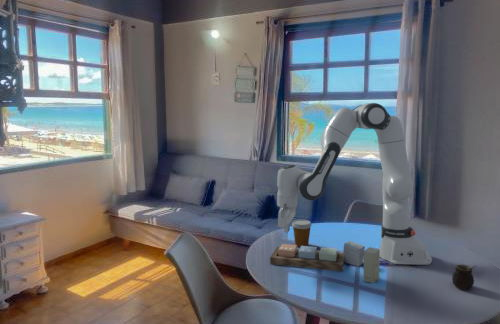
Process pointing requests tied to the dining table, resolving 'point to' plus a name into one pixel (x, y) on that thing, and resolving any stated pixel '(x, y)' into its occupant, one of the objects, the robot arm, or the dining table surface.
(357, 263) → the medicine box
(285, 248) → the tile three
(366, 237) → the dining table surface
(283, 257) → the key frame
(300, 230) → the disposable coffee cup
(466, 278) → the mate gourd
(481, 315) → the dining table surface
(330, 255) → the tile one
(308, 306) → the dining table surface
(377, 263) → the skincare box
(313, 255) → the tile two
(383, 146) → the robot arm
